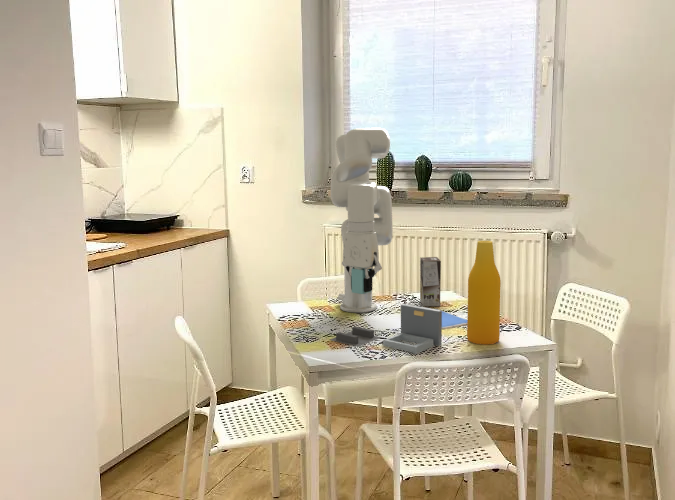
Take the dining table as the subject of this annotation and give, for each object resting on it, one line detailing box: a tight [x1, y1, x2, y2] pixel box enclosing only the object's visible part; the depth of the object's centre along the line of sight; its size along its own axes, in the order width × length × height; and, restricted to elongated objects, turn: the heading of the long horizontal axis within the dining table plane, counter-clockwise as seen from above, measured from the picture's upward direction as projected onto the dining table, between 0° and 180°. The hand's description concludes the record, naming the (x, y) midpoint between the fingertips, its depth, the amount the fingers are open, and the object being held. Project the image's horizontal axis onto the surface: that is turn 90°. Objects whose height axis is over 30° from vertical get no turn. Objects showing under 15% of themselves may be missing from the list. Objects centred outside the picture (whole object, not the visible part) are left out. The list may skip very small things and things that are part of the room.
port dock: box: [382, 303, 443, 355], centre depth 193 cm, size 13×12×10 cm
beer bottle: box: [466, 240, 502, 345], centre depth 196 cm, size 9×9×29 cm
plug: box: [351, 267, 371, 294], centre depth 196 cm, size 4×4×8 cm
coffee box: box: [419, 256, 442, 307], centre depth 241 cm, size 9×6×16 cm
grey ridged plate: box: [329, 326, 382, 347], centre depth 200 cm, size 11×11×2 cm
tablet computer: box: [435, 308, 468, 330], centre depth 221 cm, size 19×13×1 cm, turn 29°
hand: (361, 289), depth 197 cm, fingers closed on plug, 4 cm apart
